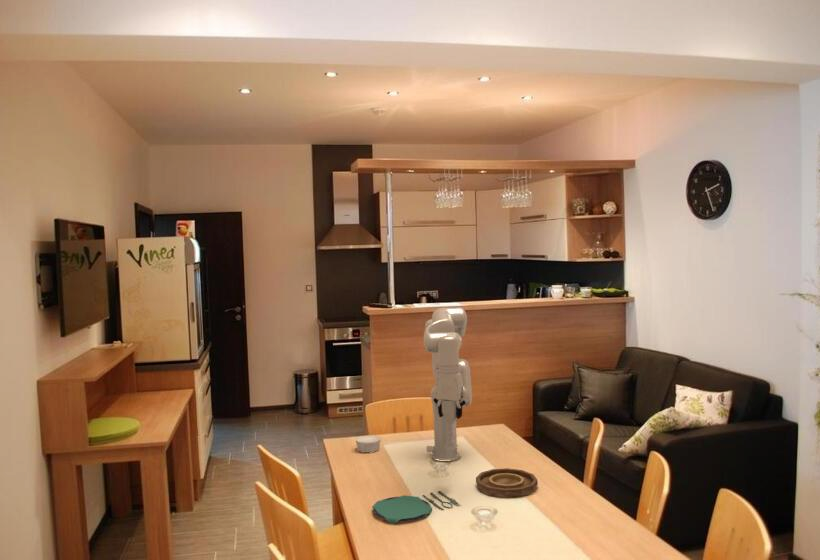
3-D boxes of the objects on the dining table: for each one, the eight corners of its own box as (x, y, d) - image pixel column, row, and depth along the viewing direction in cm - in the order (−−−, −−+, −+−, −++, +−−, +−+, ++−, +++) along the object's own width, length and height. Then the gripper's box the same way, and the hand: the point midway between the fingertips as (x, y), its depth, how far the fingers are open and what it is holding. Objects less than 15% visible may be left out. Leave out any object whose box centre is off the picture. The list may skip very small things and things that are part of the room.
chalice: (461, 443, 241) (459, 396, 240) (460, 449, 234) (459, 400, 233) (441, 443, 241) (440, 396, 240) (440, 449, 235) (439, 400, 234)
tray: (468, 493, 233) (468, 485, 233) (488, 473, 253) (487, 465, 253) (527, 501, 223) (527, 493, 223) (543, 480, 243) (542, 472, 243)
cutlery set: (363, 508, 223) (363, 501, 223) (438, 492, 236) (438, 486, 236) (387, 530, 205) (387, 523, 205) (467, 512, 219) (467, 505, 219)
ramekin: (352, 448, 291) (352, 437, 291) (375, 445, 295) (375, 433, 295) (361, 455, 281) (360, 443, 280) (384, 451, 285) (384, 439, 285)
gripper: (423, 369, 236) (425, 417, 237) (467, 372, 229) (468, 421, 230) (431, 366, 243) (433, 412, 244) (474, 368, 236) (475, 416, 237)
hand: (450, 416), depth 237 cm, fingers closed on chalice, 6 cm apart
